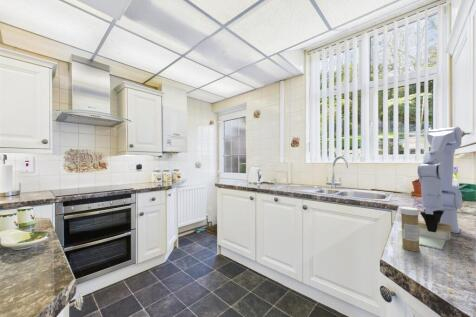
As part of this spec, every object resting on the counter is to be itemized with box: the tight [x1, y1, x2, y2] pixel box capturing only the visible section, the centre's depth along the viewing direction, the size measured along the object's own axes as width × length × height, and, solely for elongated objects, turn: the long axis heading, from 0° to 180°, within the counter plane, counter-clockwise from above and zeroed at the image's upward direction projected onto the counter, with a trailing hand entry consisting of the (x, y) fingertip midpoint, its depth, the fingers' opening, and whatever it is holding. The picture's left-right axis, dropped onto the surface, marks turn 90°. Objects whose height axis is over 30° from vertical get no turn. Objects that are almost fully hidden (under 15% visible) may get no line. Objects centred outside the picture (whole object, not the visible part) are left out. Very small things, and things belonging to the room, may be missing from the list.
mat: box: [419, 235, 447, 251], centre depth 70 cm, size 11×7×1 cm, turn 129°
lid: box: [418, 219, 452, 234], centre depth 76 cm, size 5×9×3 cm, turn 39°
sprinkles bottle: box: [399, 206, 421, 252], centre depth 65 cm, size 5×5×14 cm
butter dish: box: [419, 228, 451, 242], centre depth 76 cm, size 5×9×3 cm, turn 39°
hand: (433, 230), depth 76 cm, fingers closed on lid, 5 cm apart
